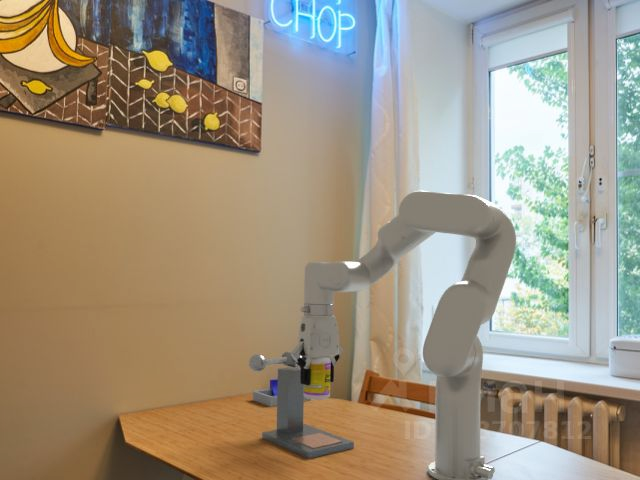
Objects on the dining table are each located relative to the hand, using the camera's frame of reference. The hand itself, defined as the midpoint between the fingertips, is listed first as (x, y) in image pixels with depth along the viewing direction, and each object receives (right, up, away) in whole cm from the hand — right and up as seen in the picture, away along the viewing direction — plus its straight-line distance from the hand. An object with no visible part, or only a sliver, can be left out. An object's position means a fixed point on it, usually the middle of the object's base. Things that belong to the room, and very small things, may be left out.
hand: (317, 382), depth 142 cm
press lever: (-7, +2, +9) cm, 12 cm away
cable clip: (-12, -19, +49) cm, 54 cm away
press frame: (-3, -16, +2) cm, 16 cm away
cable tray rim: (-12, -18, +50) cm, 54 cm away
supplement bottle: (0, -4, 0) cm, 4 cm away
